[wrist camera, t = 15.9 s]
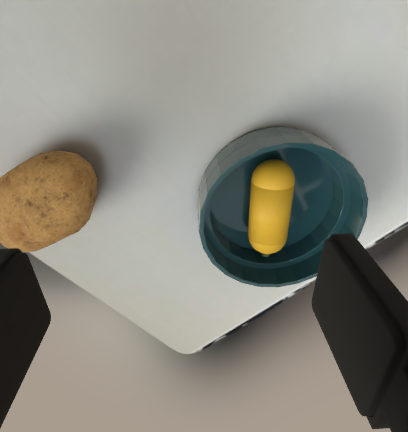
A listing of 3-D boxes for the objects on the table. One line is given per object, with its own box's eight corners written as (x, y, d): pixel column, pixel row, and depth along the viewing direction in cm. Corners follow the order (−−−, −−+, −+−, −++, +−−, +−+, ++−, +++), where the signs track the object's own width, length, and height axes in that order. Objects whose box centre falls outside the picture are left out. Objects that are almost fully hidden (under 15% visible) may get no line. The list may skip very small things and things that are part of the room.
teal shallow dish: (228, 103, 35) (236, 117, 29) (371, 153, 38) (403, 174, 33) (180, 238, 43) (179, 268, 38) (300, 267, 47) (315, 299, 42)
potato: (129, 178, 39) (116, 210, 32) (56, 238, 43) (31, 278, 36) (65, 116, 34) (35, 137, 28) (-9, 189, 39) (-51, 223, 32)
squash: (252, 152, 37) (252, 168, 33) (294, 153, 37) (300, 169, 33) (247, 242, 44) (246, 264, 40) (282, 244, 44) (286, 267, 39)
